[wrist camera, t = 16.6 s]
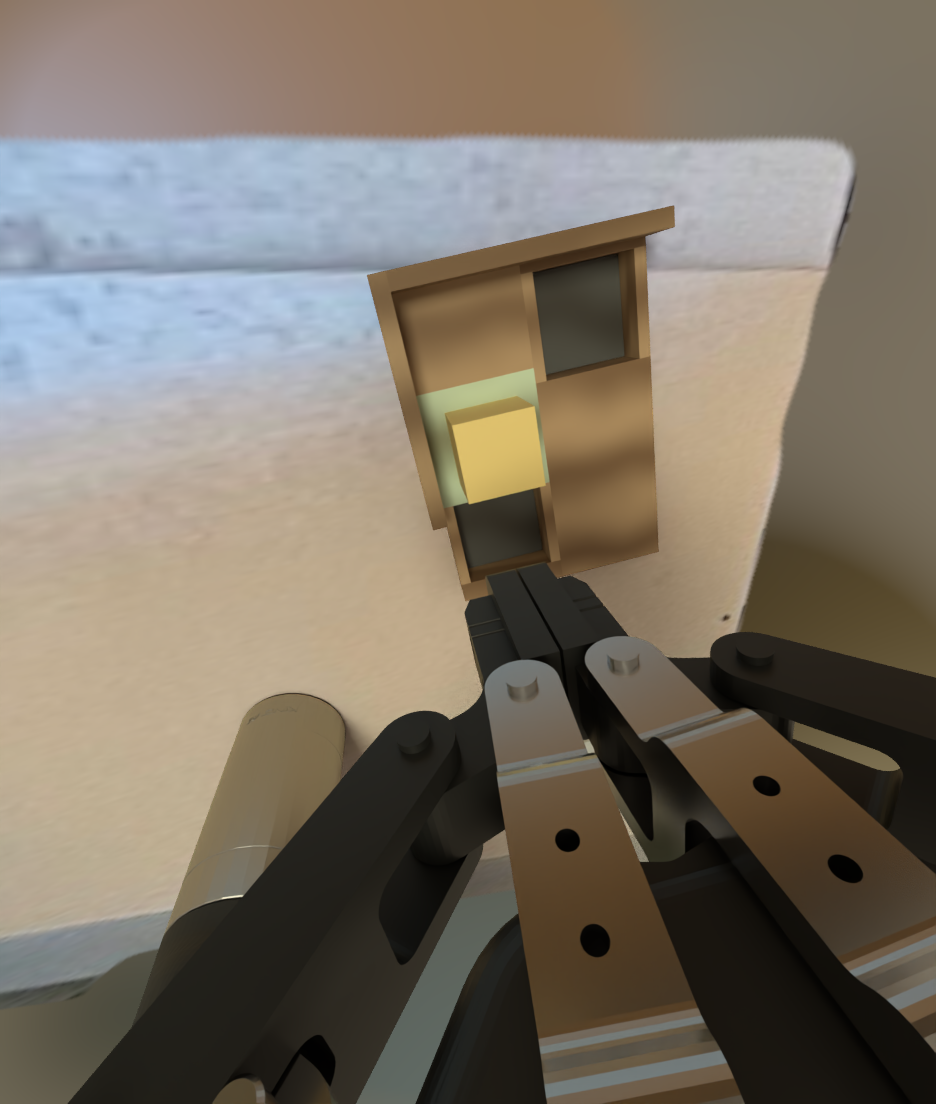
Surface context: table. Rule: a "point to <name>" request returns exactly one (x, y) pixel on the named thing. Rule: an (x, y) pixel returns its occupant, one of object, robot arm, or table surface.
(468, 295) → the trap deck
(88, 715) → the table surface
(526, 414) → the block
